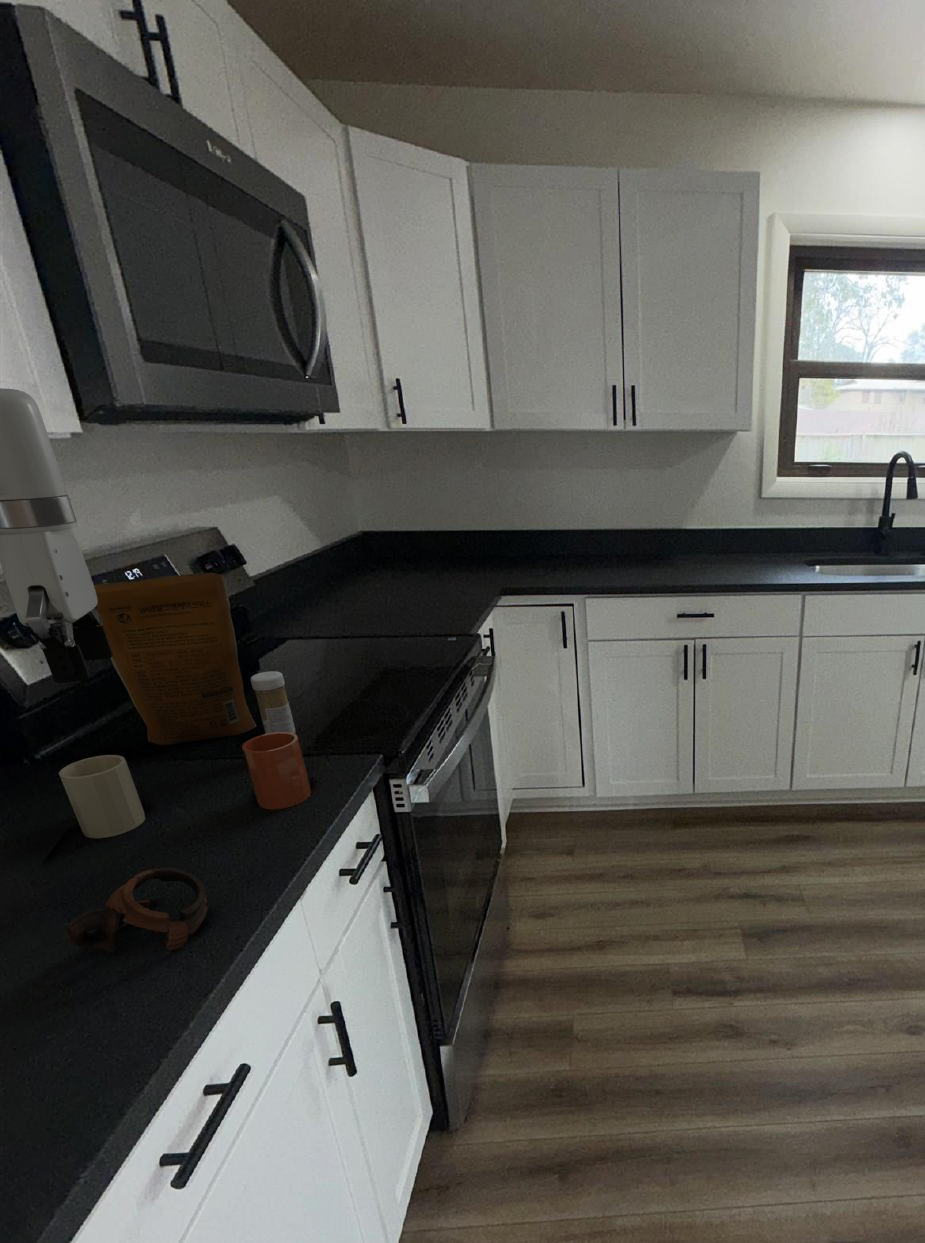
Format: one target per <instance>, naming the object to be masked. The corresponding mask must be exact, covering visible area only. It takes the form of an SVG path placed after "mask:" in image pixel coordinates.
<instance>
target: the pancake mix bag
mask: <svg viewBox="0 0 925 1243" xmlns="http://www.w3.org/2000/svg"><path fill="white" fill-rule="evenodd" d="M225 579H226V578H225V575H223V574H220V573H219V574H218V573H214V572H203V573H202V572H201V573H188V574H187V573H186V574H178V575H169V576H160V577H153V578H146V579H141V580H134V581H133V580H132V581H122V582H112V583H111V582H110V583H99V584H94V588H95V591H96V595H97V600H98V602H97V605H96V606H98V608H97V612H98V614H99V615H100V617H101V619H102V625H97V626H103V627H104V629H105V632H106V635H107V638H108V641H109V644H110V647H111V650H112V653H113V656H112V657H111V658H110V661H111V663H112V665H113V668H114V669H115V671H116V672H117V675H118V676H119V678H120V680H121V682H122V684H123V685H124V687H125V689H126V690H127V693H128V695H129V697H130V699H131V701H132V703H133V705H134V708H136V710H137V713H138V714H139V716H140V717H141V719H142V720H143V723H144V724H145V725H146V732H147V741H148V742H149V743H152V744H156V745H160V746H171V745H178V744H185V743H191V742H198V741H204V740H211V739H217V738H227V737H232V736H233V737H235V736H238V735H242V734H244V733H246V732H249V731H251V730H253V729H255V728H256V727H257V724H256V722H255V721H254V719H253V717H252V715H251V712H250V710H249V706H248V705H247V700H246V696H245V692H244V690H245V689H244V681H243V678H242V672H241V668H240V664H239V658H238V645H237V640H236V634H235V628H234V624H233V619H232V614H231V602H230V599H229V595H228V589H227V584H226V580H225Z"/></svg>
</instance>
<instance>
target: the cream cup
mask: <svg viewBox="0 0 925 1243" xmlns="http://www.w3.org/2000/svg"><path fill="white" fill-rule="evenodd" d="M58 776H59V777H60V780H61V782H62V785H63V787H64V790H65V792H66V796H67V797H68V800H69V803H70V805H71V808H72V810H73V812H74V815H75V817H76V820H77V822H78V825H79V827H80V830H81V832H82V834H83V836H84V837H85V838H89V839H105V838H111V837H116V836H119V835H122V834H125V833H129V832H130V831H132V830H134V829H137V828H138V827H139V826H140V825H142V824H143V823H144V822H145V821H146V814H145V811H144V808H143V806H142V802H141V799H140V796H139V794H138V791H137V788H136V785H135V782H134V780H133V776H132V774H131V771H130V769H129V766H128V763H127V760H126V758H125V757H124V756H121V755H118V754H104V755H96V756H91V757H88V758H87V757H86V758H84V759H83V758H82V759H81V760H78V761H74V762H72V763H70V764H68V765H65V767H63V768H61V769H60V770H59V772H58Z"/></svg>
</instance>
